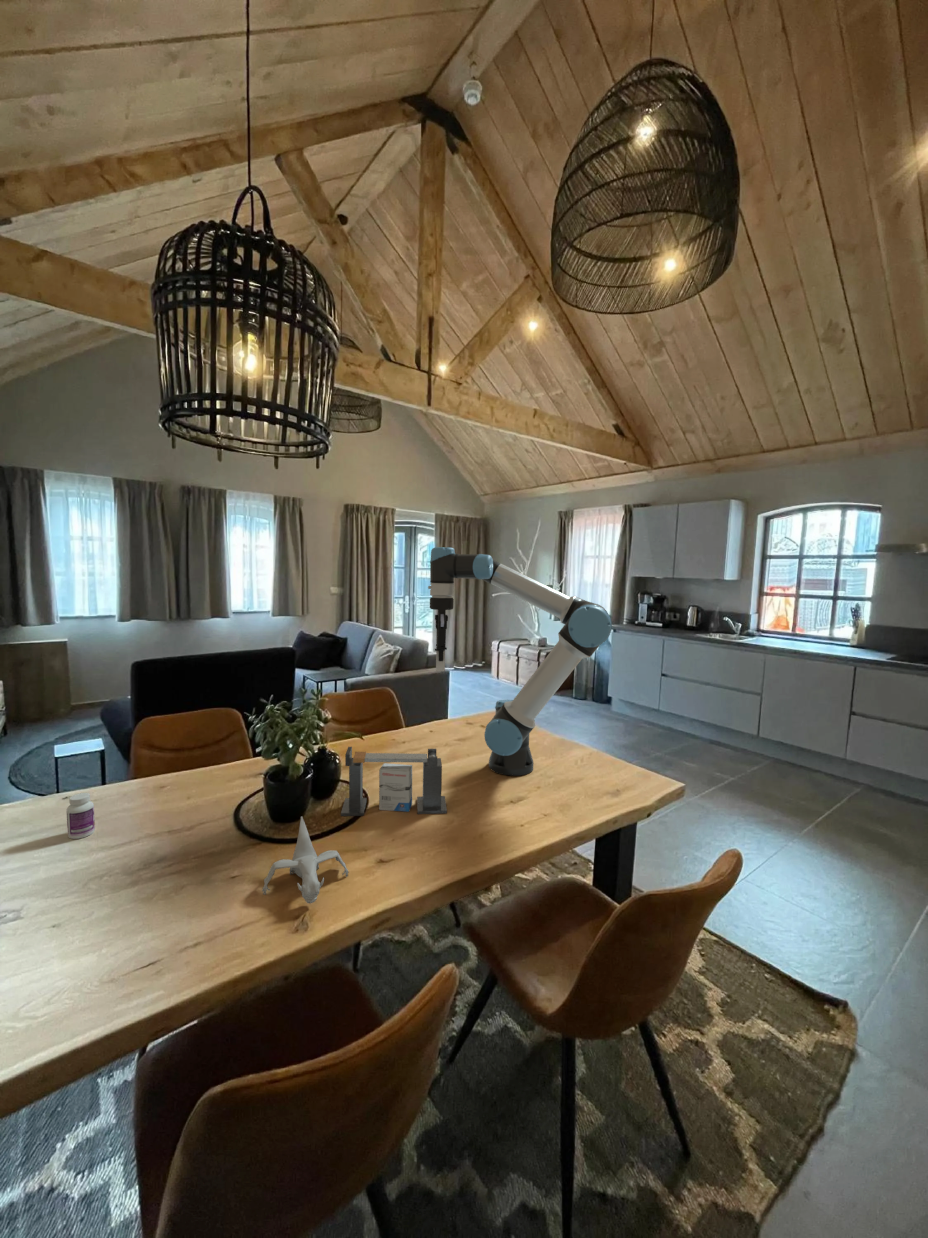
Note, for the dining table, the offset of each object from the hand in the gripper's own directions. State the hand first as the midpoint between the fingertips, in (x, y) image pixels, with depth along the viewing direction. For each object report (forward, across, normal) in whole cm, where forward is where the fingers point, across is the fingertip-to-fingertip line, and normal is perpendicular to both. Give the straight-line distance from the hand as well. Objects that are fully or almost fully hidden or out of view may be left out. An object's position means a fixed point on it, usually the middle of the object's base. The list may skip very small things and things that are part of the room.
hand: (440, 670), depth 161 cm
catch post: (+34, +22, -24) cm, 47 cm away
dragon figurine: (+35, +55, -31) cm, 72 cm away
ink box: (+35, +22, -13) cm, 43 cm away
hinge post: (+34, +22, -3) cm, 41 cm away
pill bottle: (+35, +32, -89) cm, 101 cm away
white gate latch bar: (+21, +22, -13) cm, 33 cm away
